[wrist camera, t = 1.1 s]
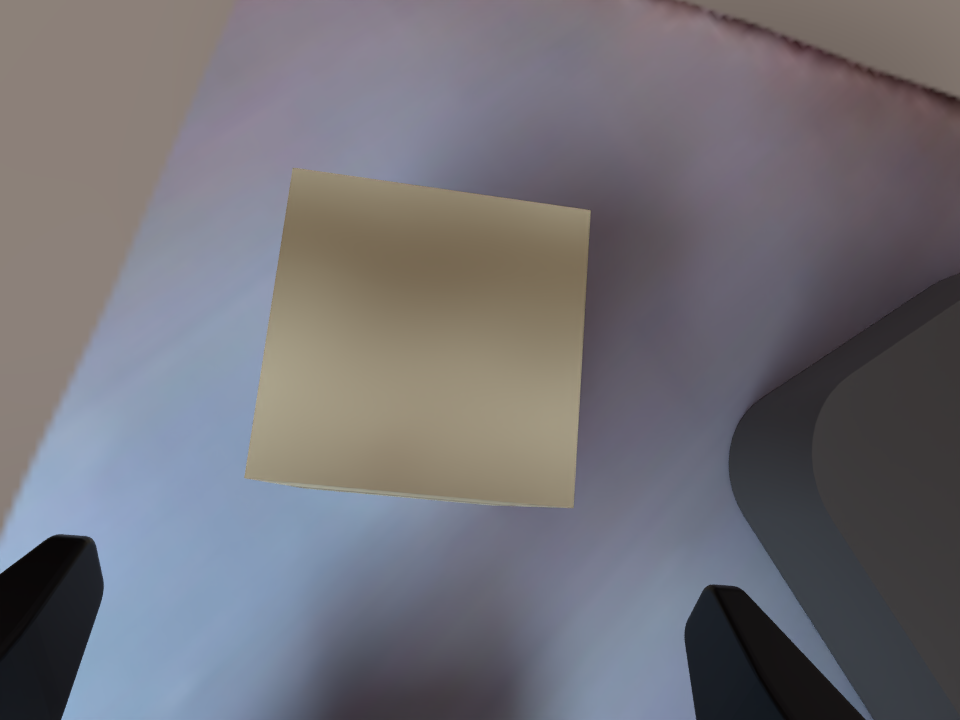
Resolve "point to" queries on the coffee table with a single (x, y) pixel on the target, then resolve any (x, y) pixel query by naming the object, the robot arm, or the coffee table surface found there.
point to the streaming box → (870, 502)
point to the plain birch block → (423, 345)
